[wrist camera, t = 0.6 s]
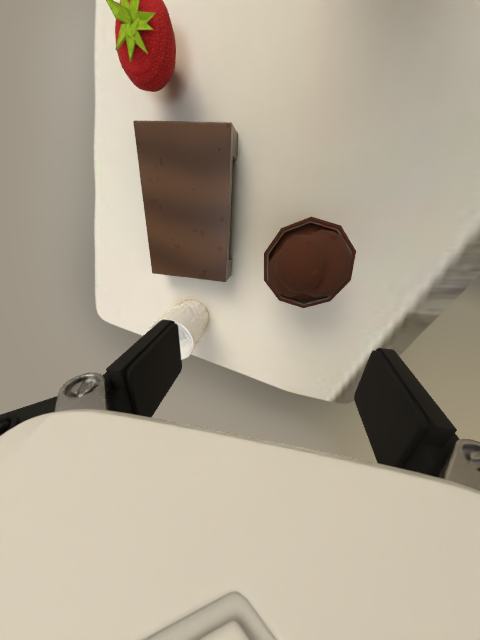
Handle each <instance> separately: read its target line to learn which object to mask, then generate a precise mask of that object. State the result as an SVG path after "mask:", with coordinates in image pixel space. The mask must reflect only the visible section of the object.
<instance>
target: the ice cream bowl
mask: <svg viewBox="0 0 480 640" xmlns="http://www.w3.org/2000/svg"><path fill="white" fill-rule="evenodd" d="M355 254H356V250H355V249H354V247H353V245H352V244H351V242H350V240H349V239H348V237H347V235H346V233H345V232H344V230H343V228H342V227H341V226H340V225H337V224H334V223H330V222H327V221H324V220H320V219H317V218H314V217H309V218H307V219H304V220H302V221H299V222H296V223H294V224H291V225H289V226H286V227H283V228H281V229H280V231H279V232H278V234H277V235H276V237H275V238H274V240H273V241H272V243H271V244H270V245H269V247H268V248H267V250H266V251H265V253H264V281H265V282H266V283H267V285H268V286H269V287H270V289H271V290H272V291H273V293H274V294H275V295H276V297H277V298H278V299H279V300H280V301H283V302H286V303H289V304H292V305H295V306H299V307H302V308H306V307H310V306H313V305H317V304H321V303H325V302H329V301H331V300H332V299H333V298H334V297H335V296H336V295H337V294H338V293H339V292H340V291H341V290H342V289H343V288H344V287H345V286H346V285H347V284H348V283H349V281H350V280H351V276H352V270H353V265H354V259H355Z"/></svg>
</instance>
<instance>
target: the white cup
mask: <svg viewBox="0 0 480 640" xmlns="http://www.w3.org/2000/svg"><path fill="white" fill-rule="evenodd" d="M208 318H209V315H208V312H207V310H206V308H205V307H204V306H203V305H202V304H201V303H199V302H197V301H195V300H186V301H184V302H182V303H180V304H179V305H178V306H175V307H174V308H172V309H171V310H170V311H168V312H167V313H166V314H164V315H163V316H162V317H160V318H159V319H158V320H156V321H155V322H154V323H152V324H151V326H150V328H149V330H150V329H152V328H153V327H154V326H155V325H156V324H157V323H158V322H159V321H161V320H162V319H165V320H172V321H174V322H175V324H177V325H178V331H179V341H180V351H181V360H183V359H185V358H187V357H188V356H189V355H190V354H191V353H192V351H193V350H194V348H195V346H196V344H197V342H198V341H199V339H200V337H201V335H202V333H203V331H204V329H205V326H206V325H207V323H208Z"/></svg>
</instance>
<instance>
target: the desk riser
mask: <svg viewBox="0 0 480 640" xmlns="http://www.w3.org/2000/svg"><path fill="white" fill-rule="evenodd" d="M134 129H135V137H136V145H137V153H138V161H139V170H140V178H141V186H142V194H143V202H144V210H145V218H146V226H147V234H148V242H149V250H150V258H151V266H152V273H155V274H164V275H172V276H180V277H189V278H197V279H205V280H214V281H222V282H226V281H227V280H228V279H229V277H230V276H231V266H232V259H229V237H230V212H231V187H232V162H233V160H236V159H237V137H238V133H237V131H236V129H235V128H234V126H233V125H232V123H226V122H176V121H134Z"/></svg>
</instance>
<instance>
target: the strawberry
mask: <svg viewBox="0 0 480 640" xmlns="http://www.w3.org/2000/svg"><path fill="white" fill-rule="evenodd" d="M106 1H107V3H108V5H109V7H110V9H111V10H112V12H113V14H114V16H115V18H116V26H115V35H116V50H117V52H118V56H119V60H120V62H121V65H122V67H123V69H124V71H125V73H126V74H127V76H128V77H129V78H130V80H131V81H132V82H133V84H134V85H135V86H137V87H138V88H139V89H142V90H145V91H151V92H156V91H159V90H161V89H162V88H164V87H165V86H166V85H167V83H168V82H169V81H170V80H171V78H172V76H173V73H174V69H175V58H176V44H175V36H174V32H173V28H172V24H171V21H170V17H169V14H168V11H167V8H166V6H165V4H164V2H163V1H162V0H120V4H119V3H117V2H115V1H113V0H106Z"/></svg>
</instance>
